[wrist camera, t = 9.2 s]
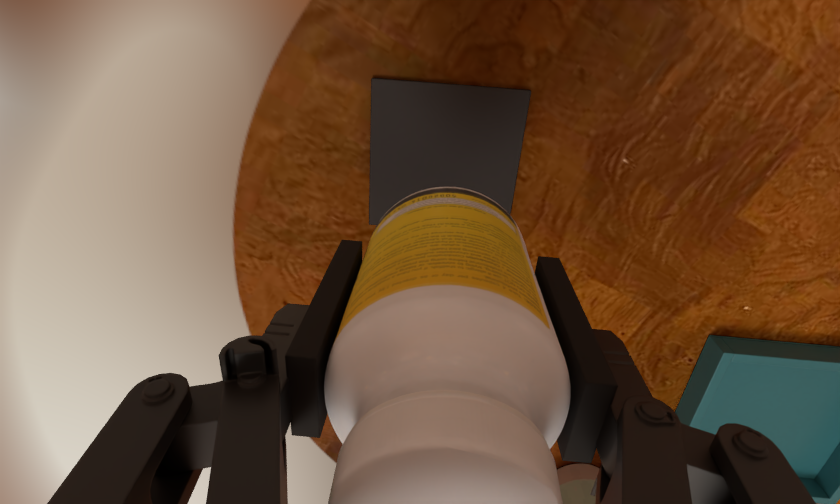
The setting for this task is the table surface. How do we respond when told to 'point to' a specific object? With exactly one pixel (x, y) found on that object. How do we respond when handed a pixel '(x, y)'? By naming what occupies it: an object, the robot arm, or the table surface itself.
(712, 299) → the table surface
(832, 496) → the tray
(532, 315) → the pill bottle
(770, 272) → the table surface
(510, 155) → the mat
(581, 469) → the coffee cup
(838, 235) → the table surface
